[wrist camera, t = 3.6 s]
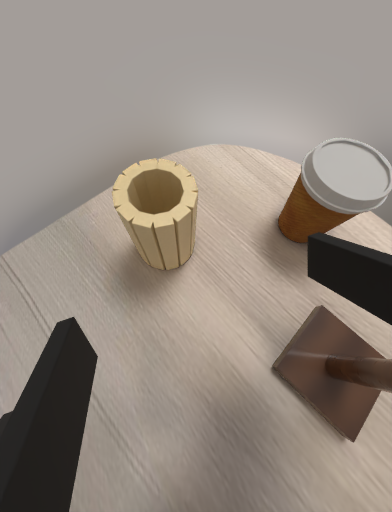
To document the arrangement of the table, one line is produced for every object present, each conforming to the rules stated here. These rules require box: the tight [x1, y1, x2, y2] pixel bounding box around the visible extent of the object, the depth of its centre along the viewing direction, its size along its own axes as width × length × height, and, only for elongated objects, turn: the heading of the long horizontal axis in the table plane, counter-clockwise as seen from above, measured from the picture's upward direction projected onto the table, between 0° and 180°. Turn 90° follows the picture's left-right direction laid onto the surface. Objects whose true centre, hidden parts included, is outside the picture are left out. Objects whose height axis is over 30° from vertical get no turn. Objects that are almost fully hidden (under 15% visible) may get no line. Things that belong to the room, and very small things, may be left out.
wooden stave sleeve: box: [112, 158, 198, 270], centre depth 26 cm, size 8×8×12 cm
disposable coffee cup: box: [278, 138, 392, 243], centre depth 28 cm, size 10×10×12 cm
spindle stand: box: [272, 306, 392, 443], centre depth 19 cm, size 10×10×15 cm
